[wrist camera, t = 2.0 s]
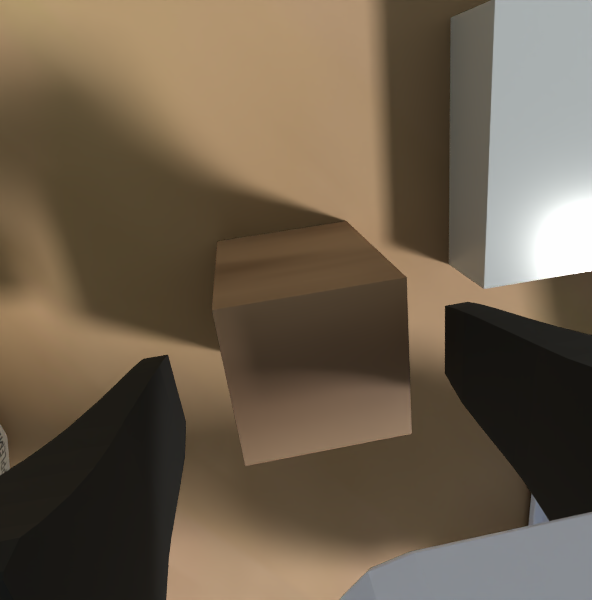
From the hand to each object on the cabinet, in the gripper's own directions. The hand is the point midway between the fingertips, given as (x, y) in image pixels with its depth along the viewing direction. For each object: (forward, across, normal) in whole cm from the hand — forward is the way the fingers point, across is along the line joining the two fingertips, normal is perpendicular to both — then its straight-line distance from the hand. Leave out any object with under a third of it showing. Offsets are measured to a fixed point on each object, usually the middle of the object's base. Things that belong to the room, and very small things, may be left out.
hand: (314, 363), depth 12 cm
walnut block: (+5, 0, 0) cm, 5 cm away
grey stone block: (+6, -10, -4) cm, 12 cm away
